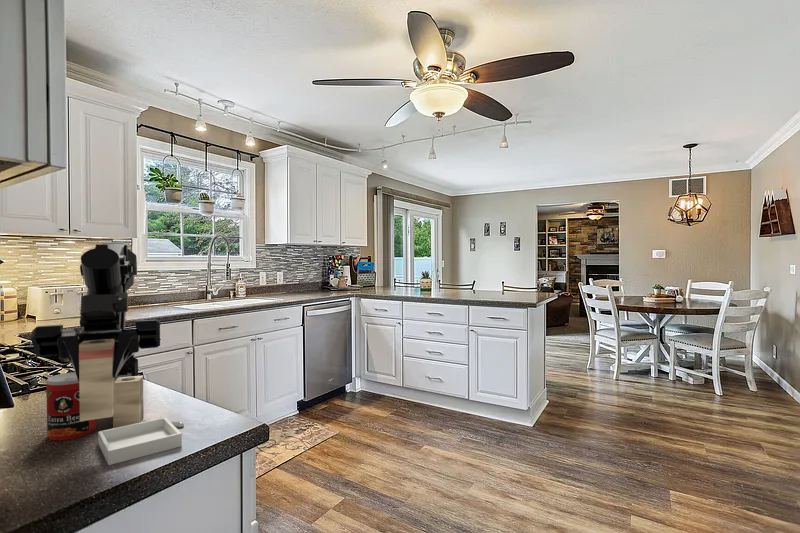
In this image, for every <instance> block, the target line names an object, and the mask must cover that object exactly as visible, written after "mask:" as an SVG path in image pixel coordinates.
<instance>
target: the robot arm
mask: <svg viewBox="0 0 800 533" xmlns="http://www.w3.org/2000/svg"><path fill="white" fill-rule="evenodd" d="M94 246H95V247H94V248H92V249H88V250H86V251H85V252H83V253H82V255H81V256H80V263H81V264H79V269H80V270H79V271H80V276H81V277H82V278H83V281H84V285H85V287H86V288H87V292H86V294H85V295H82V296H81V297H80V312H79V314H80V316H79V326H80V328H82V330H77V329H74V328H70V329H69V328H68V329H65V328H64V324H51V325H38V326H36V327H34V329H32V331H31V334H30V341H31V343H32V347H33V349H34V353H35V356H36V357H40V358H47V357H49V358H50V357H60V358H61V359H68V361H69V362H70V363H71V365H72V367H73V370H74V372H75V373H76V376H77V379H78V381H79V345H80V344H81V343H82V342H83V341H90V340H104V339H114V344H115V352H114V354H115V360H114V364H113V378H115V380H116V379H117V378H119V377H131V376H139V359H138V358H137V357H136V356H135V353H138V352H140V349H141V350H144V349H156V348H158V347H160V346H161V321H159V320H158V319H141V320H135V328H126V312H128V311H129V293H128V292H127V291H128V290H130V288H132V286H134V285H135V284H134V282H135V276H138V261H137V260H138V258H137V255H136V253H134V251H132V250H130V249H129V247H128V243H125V242H118V241H117V242H115V241H114V242H111V241H110V242H109V241H107V242H105V243H104V242H102V244H95V245H94Z"/></svg>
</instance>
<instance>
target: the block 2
mask: <svg viewBox="0 0 800 533" xmlns="http://www.w3.org/2000/svg"><path fill="white" fill-rule="evenodd" d="M144 415H145V414H144V375H138V376H131V377H119V378H117V379H116V380H115V410H114V413H113V417H112V425H113V426H112V429H113V428H117V427H122V426H127V425H131V424H136V423H141V422H143V421H144V420H143V419H144V418H145V417H144Z"/></svg>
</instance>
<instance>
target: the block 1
mask: <svg viewBox="0 0 800 533" xmlns="http://www.w3.org/2000/svg"><path fill="white" fill-rule="evenodd" d="M114 352H115V344H114V339H104V340H90V341H83V342H82V343H81V344H80V345H79V395H80V421H86V420H93V419H97V420H99V419H106V418H113V413H114V410H115V378H113V364H114V360H115V354H114Z"/></svg>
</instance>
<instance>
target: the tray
mask: <svg viewBox="0 0 800 533" xmlns="http://www.w3.org/2000/svg"><path fill="white" fill-rule="evenodd" d="M171 422H172V421H171ZM171 422H170V420H169V419H168V418H167V417H160V418H155V419H150V420H146V421H145V422H143V421H141V423H136V424H131V425H127V426H122V427H117V428H113V427H112V428H108V429H104V430H100V431H98V433H97V436H98V437H97V438H98V444H97V445H98V447H99V448H100V451H101V453H102V455H103V456H104V459H105V461H106V463H107V465H108V466H111V465H115V464H119V463H122V462H126V461H131V460H133V459H137V458H141V457H145V456H149V455H153V454H158V453H162V452H165V451H168V450H169V451H170V450H172V449H177V448H180V447H182V446H183V445H182V444H183V442H182V440H183V439H182V438H183V437H182V436H183V435H182V434H183V433H182V432H181V431H180V430H179V428H176V427H175V426H174V425H173V424H172V423H171Z"/></svg>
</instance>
